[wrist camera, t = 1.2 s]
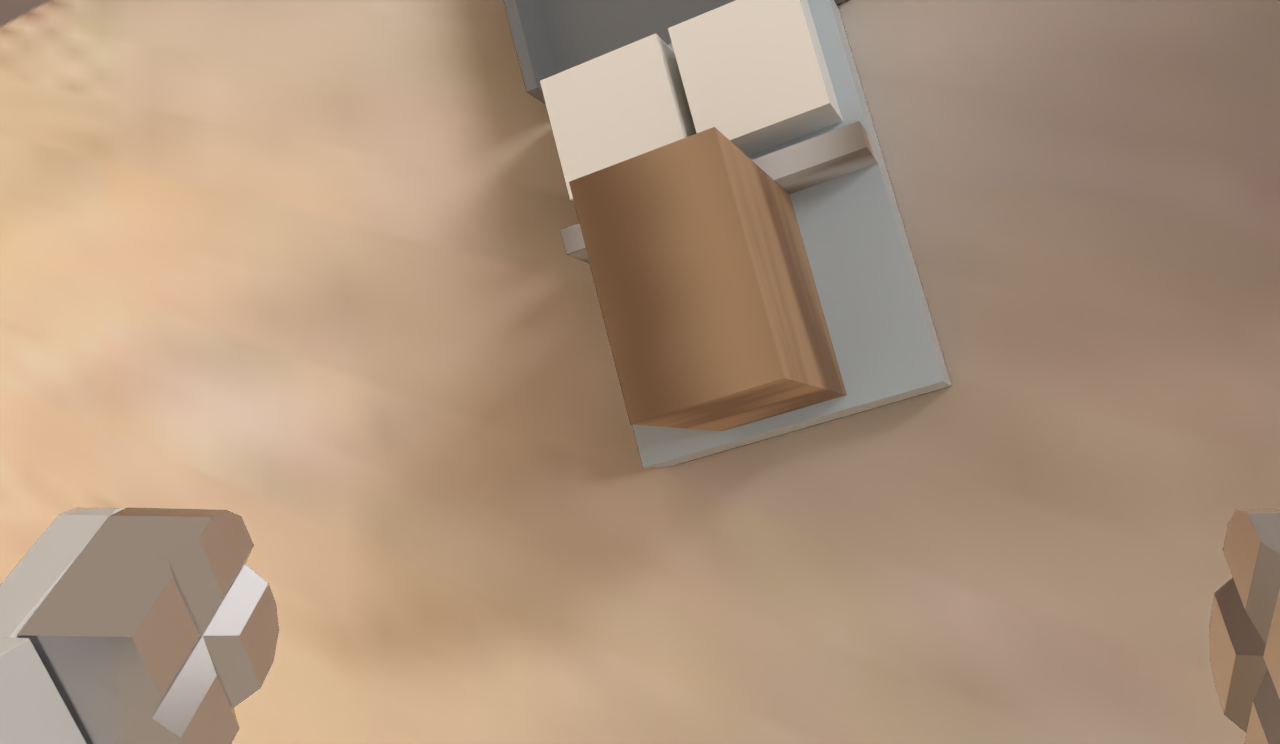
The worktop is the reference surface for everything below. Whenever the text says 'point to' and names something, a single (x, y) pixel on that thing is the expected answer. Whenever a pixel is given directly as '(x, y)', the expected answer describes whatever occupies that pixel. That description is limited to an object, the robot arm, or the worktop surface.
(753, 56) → the tile
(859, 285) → the board
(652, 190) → the brown boxy piece
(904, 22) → the worktop surface
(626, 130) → the tile
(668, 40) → the tray
